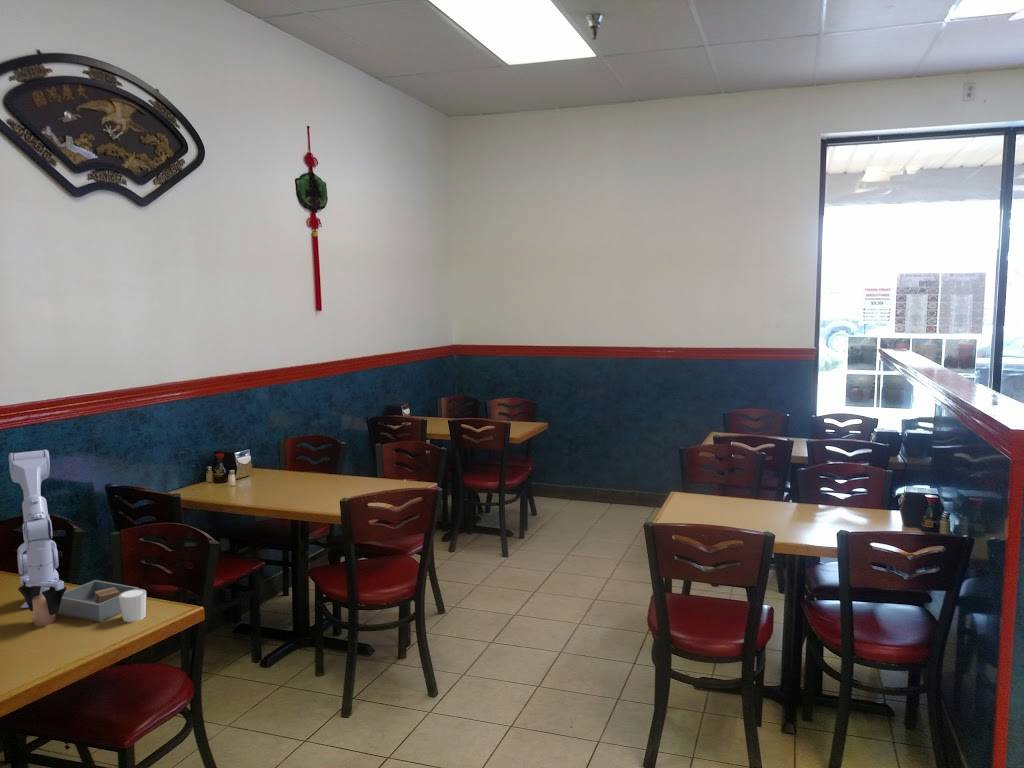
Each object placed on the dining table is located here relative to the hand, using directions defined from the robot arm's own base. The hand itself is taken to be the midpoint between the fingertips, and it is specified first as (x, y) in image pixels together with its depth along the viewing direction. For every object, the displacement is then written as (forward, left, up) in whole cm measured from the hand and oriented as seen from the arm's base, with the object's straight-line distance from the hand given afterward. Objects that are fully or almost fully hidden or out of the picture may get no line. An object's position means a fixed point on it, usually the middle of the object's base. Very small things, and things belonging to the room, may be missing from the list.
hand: (44, 611), depth 208 cm
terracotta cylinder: (0, 0, -3) cm, 3 cm away
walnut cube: (-5, +14, -2) cm, 15 cm away
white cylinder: (+2, +23, -3) cm, 23 cm away
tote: (-7, +11, -3) cm, 13 cm away
